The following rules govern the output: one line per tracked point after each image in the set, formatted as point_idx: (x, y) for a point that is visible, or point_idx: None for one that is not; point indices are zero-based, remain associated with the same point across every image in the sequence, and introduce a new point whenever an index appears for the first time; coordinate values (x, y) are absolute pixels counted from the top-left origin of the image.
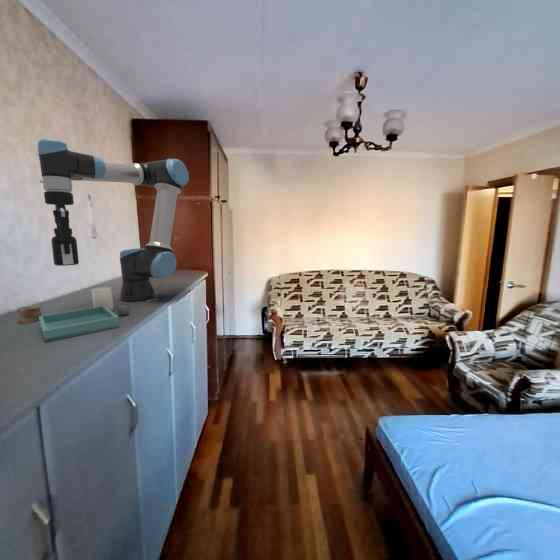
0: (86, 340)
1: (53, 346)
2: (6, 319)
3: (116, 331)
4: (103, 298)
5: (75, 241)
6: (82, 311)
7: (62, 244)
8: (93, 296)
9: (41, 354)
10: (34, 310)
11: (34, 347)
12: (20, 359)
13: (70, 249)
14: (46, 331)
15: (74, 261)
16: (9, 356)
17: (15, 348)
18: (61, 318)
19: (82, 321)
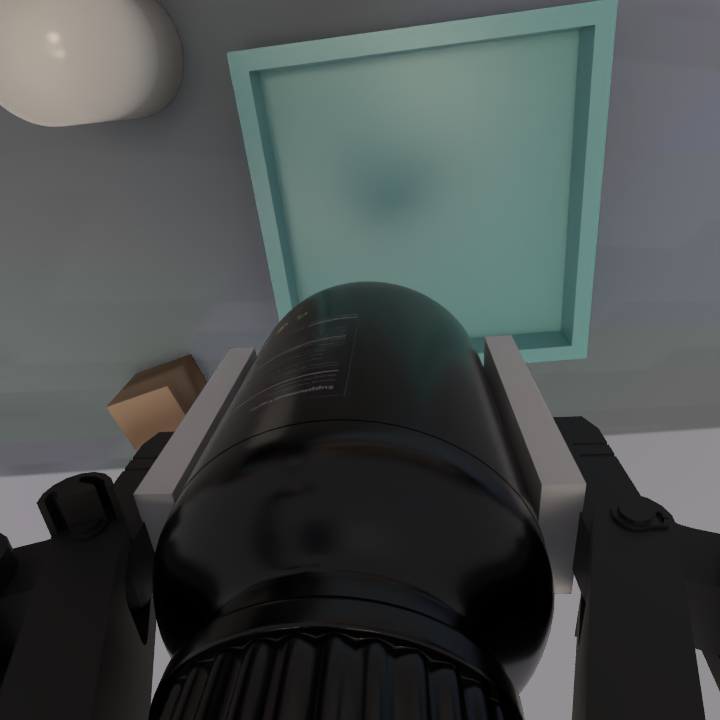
0: (684, 193)
1: (648, 311)
2: (99, 465)
3: (665, 39)
4: (143, 45)
5: (447, 438)
6: (273, 192)
7: (572, 574)
8: (110, 115)
9: (709, 344)
10: (184, 401)
11: (600, 366)
12: (700, 395)
13: (556, 441)
14: (586, 347)
15: (466, 332)
16: (635, 423)
17: (558, 414)
18: (294, 288)
19: (388, 196)
